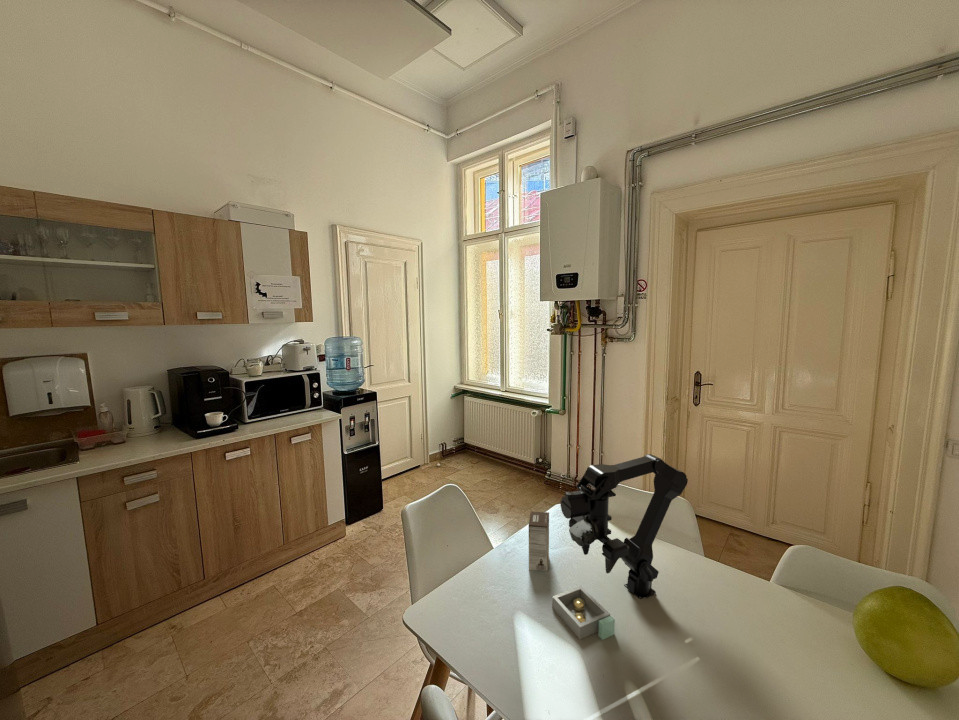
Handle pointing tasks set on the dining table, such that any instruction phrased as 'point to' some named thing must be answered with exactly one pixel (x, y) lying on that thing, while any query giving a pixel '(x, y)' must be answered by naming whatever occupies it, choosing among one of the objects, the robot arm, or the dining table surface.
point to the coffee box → (539, 541)
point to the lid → (606, 627)
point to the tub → (566, 612)
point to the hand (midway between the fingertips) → (596, 563)
